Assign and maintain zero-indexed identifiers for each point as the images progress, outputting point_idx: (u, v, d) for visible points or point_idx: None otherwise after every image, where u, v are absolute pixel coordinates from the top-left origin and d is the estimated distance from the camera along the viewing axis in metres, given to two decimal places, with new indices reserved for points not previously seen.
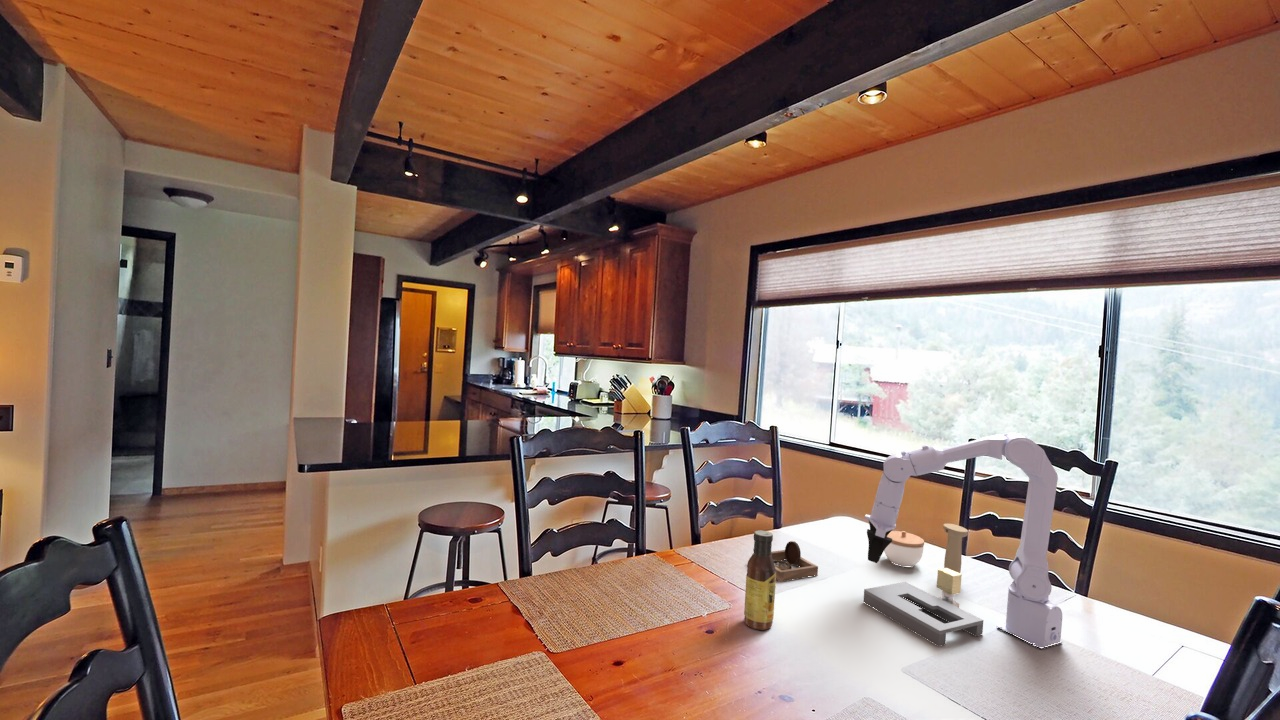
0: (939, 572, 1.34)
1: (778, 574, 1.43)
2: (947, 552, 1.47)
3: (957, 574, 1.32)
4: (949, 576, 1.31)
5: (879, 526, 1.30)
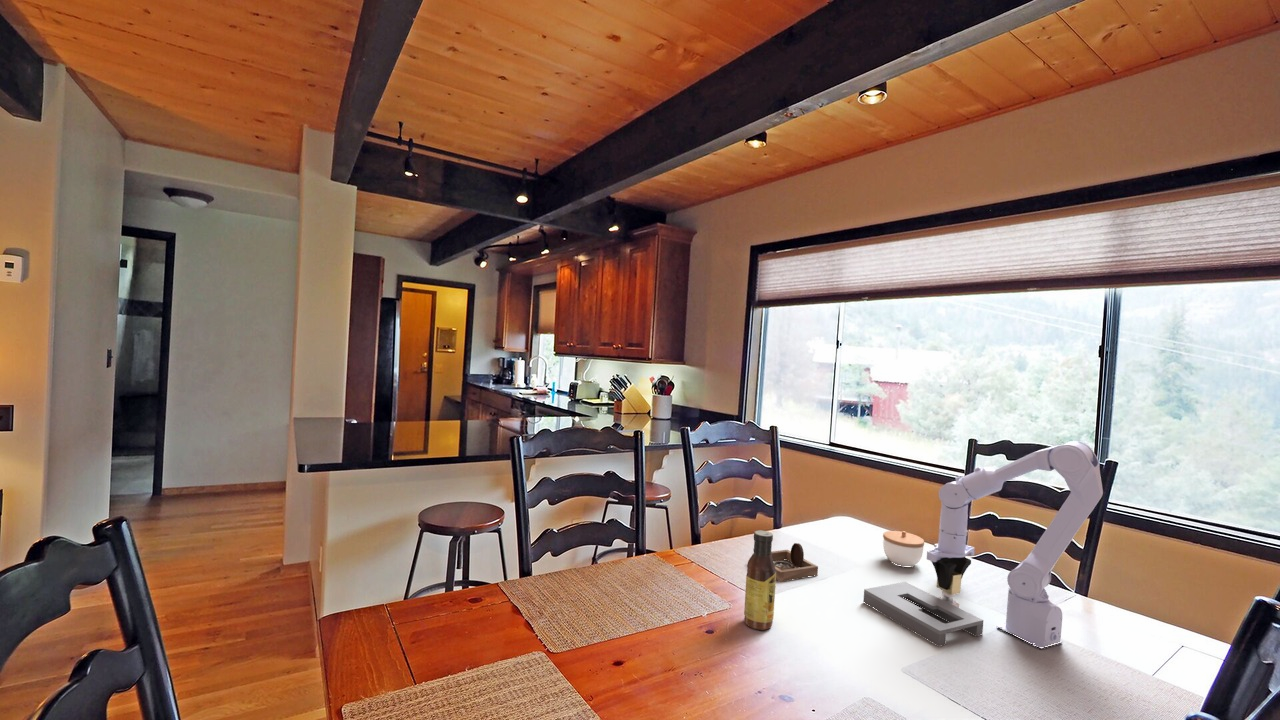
0: None
1: (778, 574, 1.43)
2: None
3: (957, 574, 1.32)
4: None
5: (935, 552, 1.31)
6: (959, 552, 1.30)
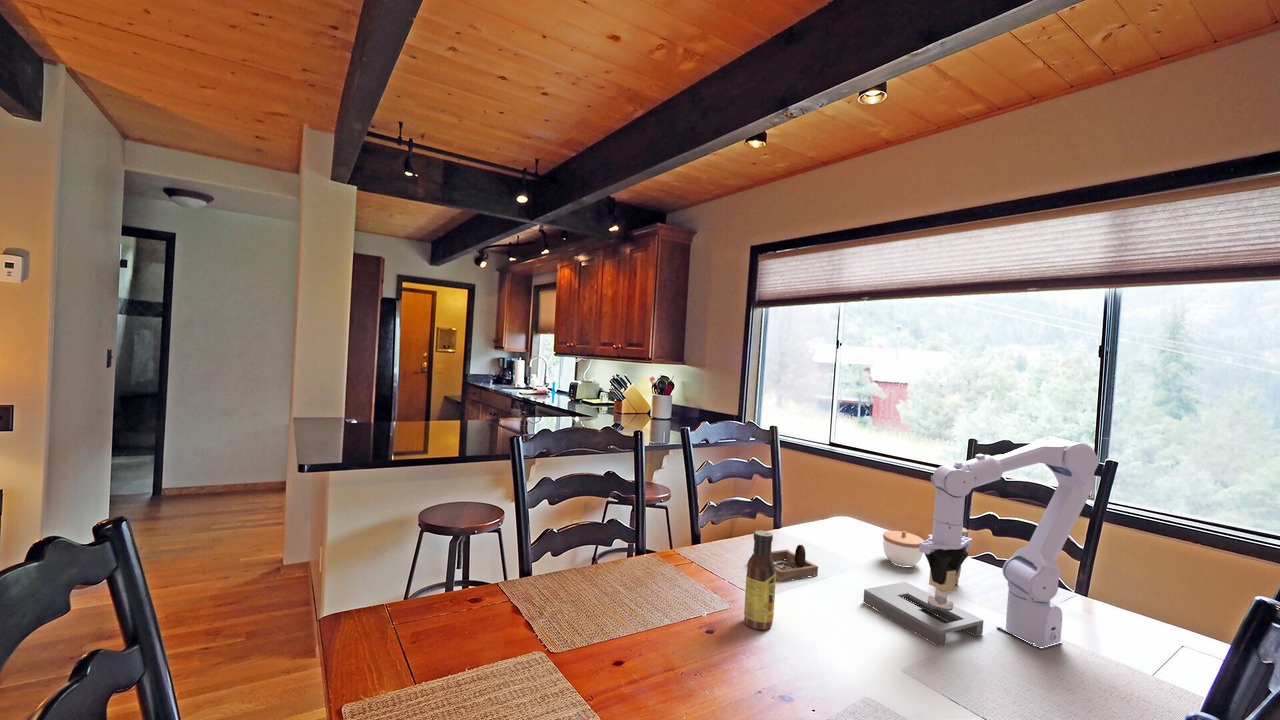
0: None
1: (778, 574, 1.43)
2: None
3: (951, 570, 1.21)
4: None
5: (929, 543, 1.20)
6: (955, 543, 1.19)
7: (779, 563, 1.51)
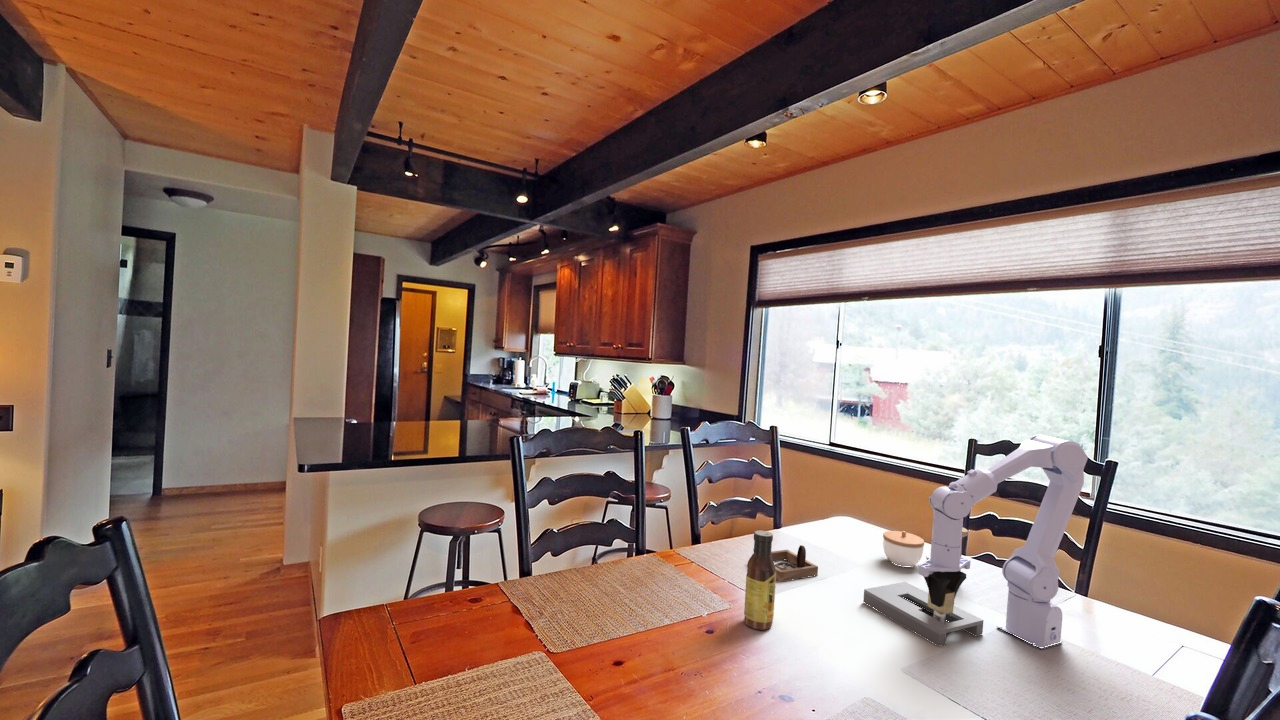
0: None
1: (778, 574, 1.43)
2: None
3: (950, 592, 1.20)
4: None
5: None
6: (953, 566, 1.19)
7: (780, 563, 1.51)
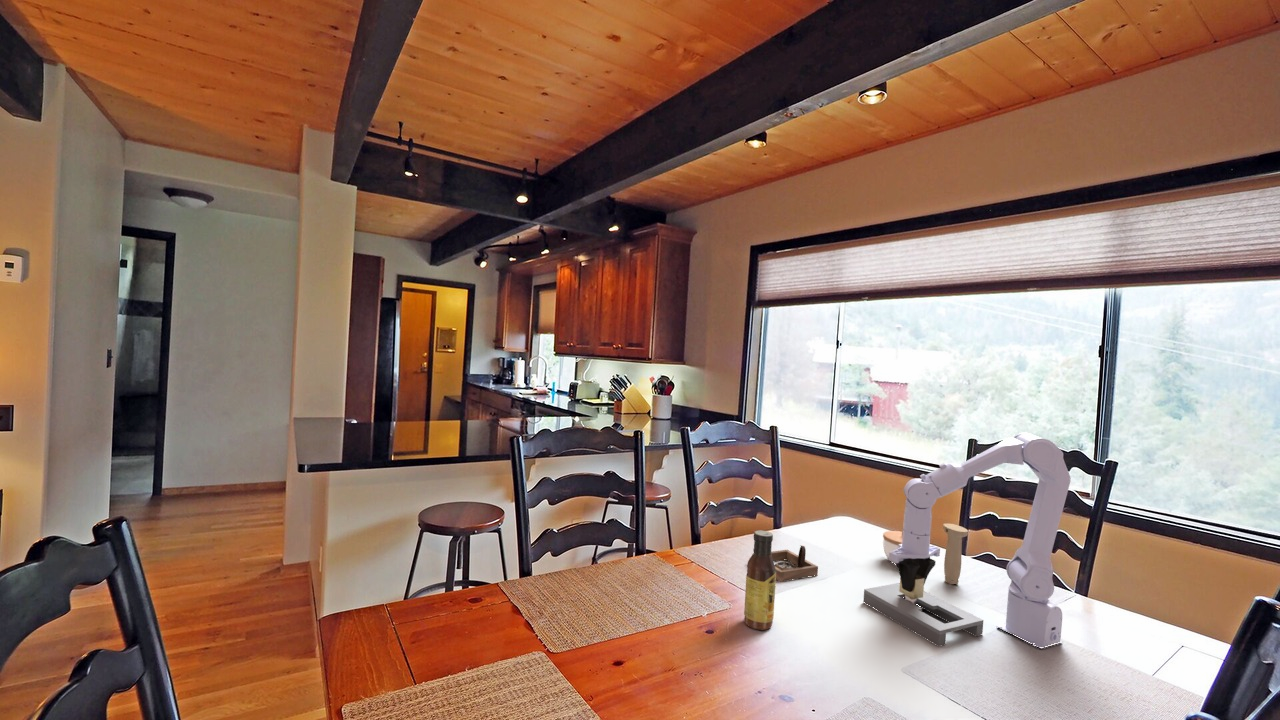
0: None
1: (778, 574, 1.43)
2: (947, 552, 1.47)
3: (920, 578, 1.27)
4: None
5: None
6: (922, 553, 1.25)
7: (781, 563, 1.52)
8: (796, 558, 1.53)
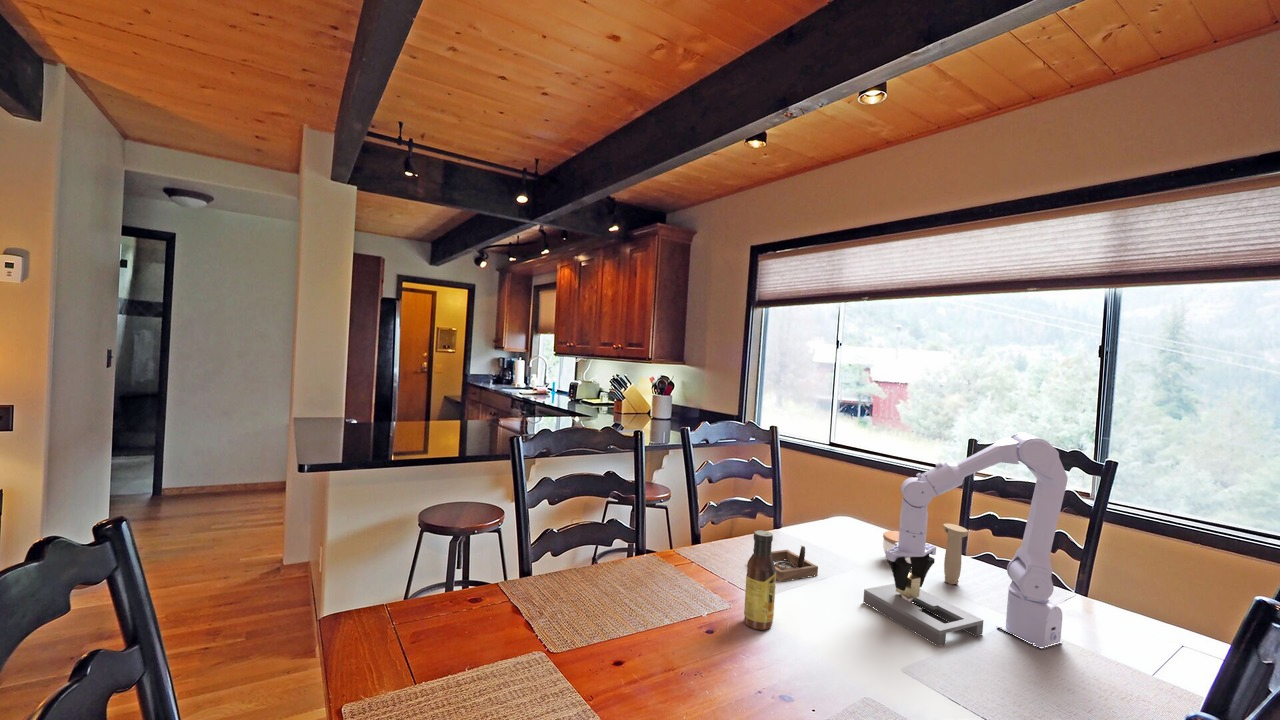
0: None
1: (778, 574, 1.43)
2: (947, 552, 1.47)
3: (916, 577, 1.28)
4: (908, 579, 1.28)
5: (894, 551, 1.28)
6: (918, 551, 1.26)
7: (782, 562, 1.52)
8: (796, 558, 1.53)
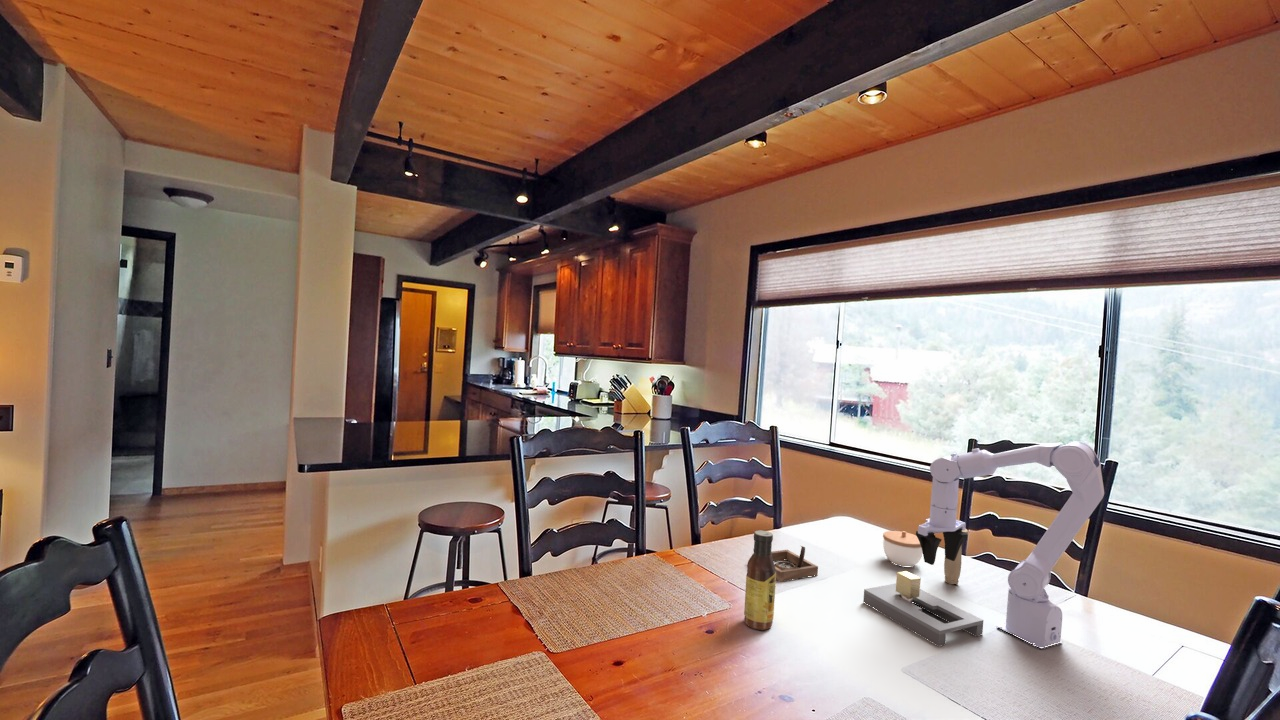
0: (898, 575, 1.30)
1: (778, 574, 1.43)
2: None
3: (916, 577, 1.28)
4: (908, 579, 1.28)
5: (926, 526, 1.32)
6: (950, 526, 1.31)
7: (783, 562, 1.52)
8: (796, 558, 1.53)
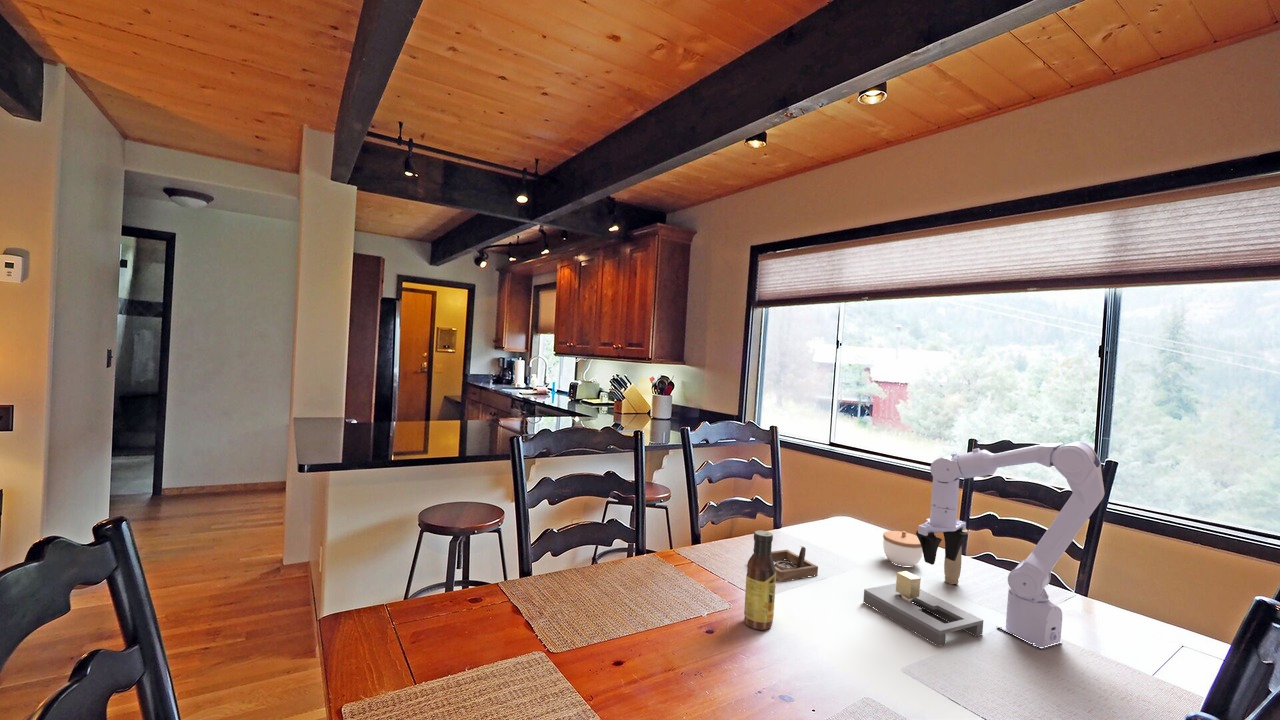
0: (898, 575, 1.30)
1: (778, 574, 1.43)
2: None
3: (916, 577, 1.28)
4: (908, 579, 1.28)
5: (927, 526, 1.32)
6: (950, 526, 1.31)
7: (783, 562, 1.52)
8: (796, 558, 1.53)
